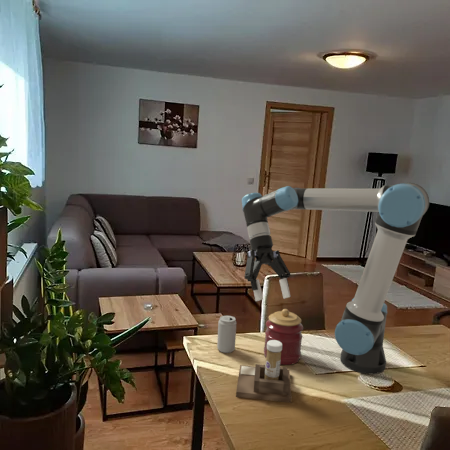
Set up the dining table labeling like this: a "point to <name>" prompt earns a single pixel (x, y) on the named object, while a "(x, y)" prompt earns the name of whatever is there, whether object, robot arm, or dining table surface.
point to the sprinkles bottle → (273, 360)
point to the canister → (285, 335)
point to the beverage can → (226, 334)
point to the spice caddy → (263, 384)
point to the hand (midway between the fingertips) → (273, 299)
